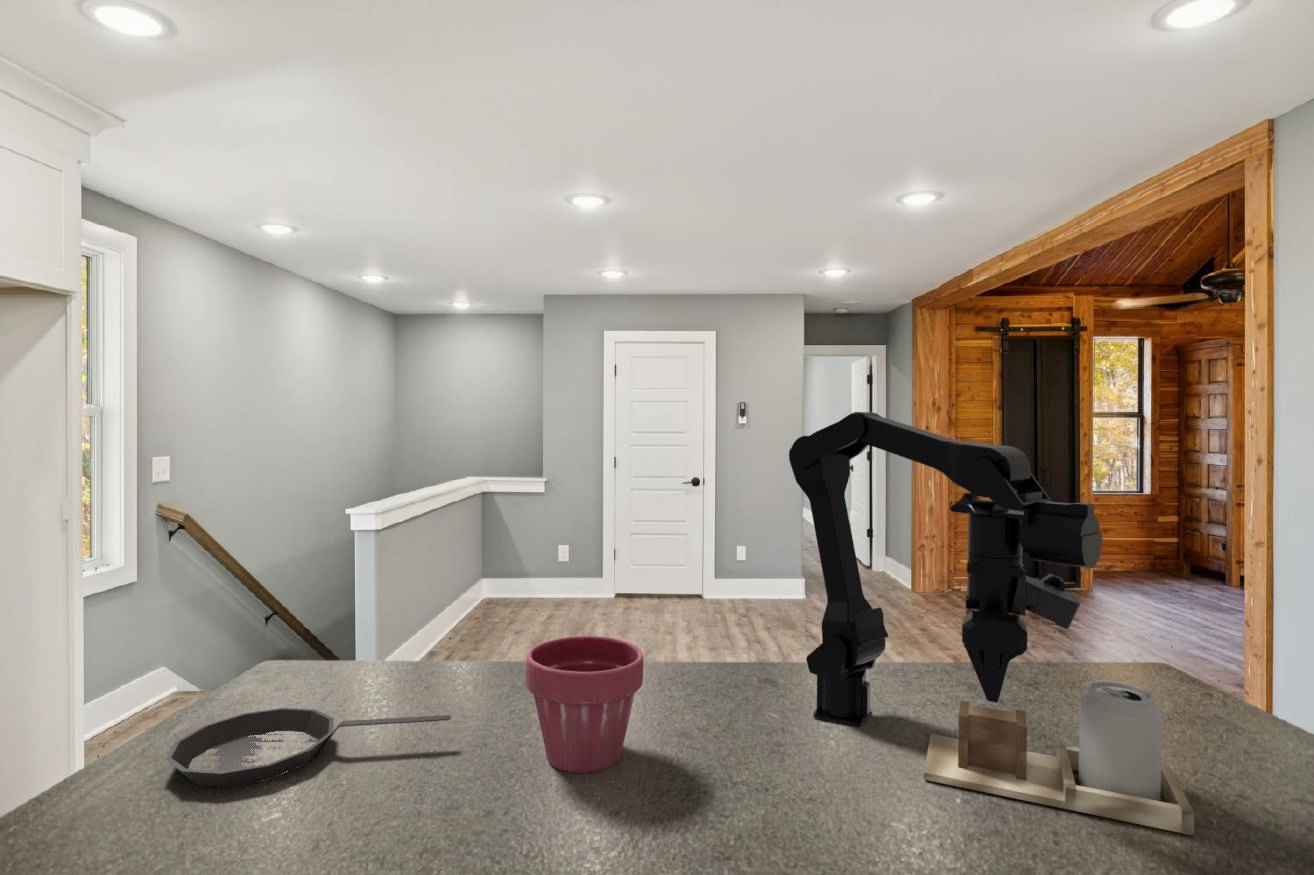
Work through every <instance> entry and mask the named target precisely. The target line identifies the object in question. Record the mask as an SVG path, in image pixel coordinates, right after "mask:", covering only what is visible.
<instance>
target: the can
mask: <svg viewBox="0 0 1314 875" xmlns="http://www.w3.org/2000/svg"><path fill="white" fill-rule="evenodd" d="M1085 687H1086V689H1087V690H1086V691H1084V692H1083V693H1082V694H1080V696H1079V715H1078V716H1079V717H1078V721H1079V722H1078V724H1079V725H1078V748H1079V771H1078V772H1077V773H1078V776H1077V777H1078V784H1079V786H1084V787H1089V788H1094V789H1099V790H1104V791H1109V792H1114V793H1120V794H1125V795H1130V796H1135V797H1140V798H1145V799H1151V800H1156V801H1161V792H1162V791H1161V763H1162V737H1163V736H1162V733H1163V732H1162V731H1163V711H1162V709H1160V708H1159V707H1158V705H1157V704H1156V703H1155V699H1156V697H1155V695H1154V694H1153V693H1152V692H1151V691H1149V690H1147V689H1146V688H1142V687H1140V686H1137V685H1134V684H1130V683H1126V682H1121V681H1116V680H1115V681H1114V680H1093V681H1090V682H1088V683H1087V684H1086V686H1085Z"/></svg>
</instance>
